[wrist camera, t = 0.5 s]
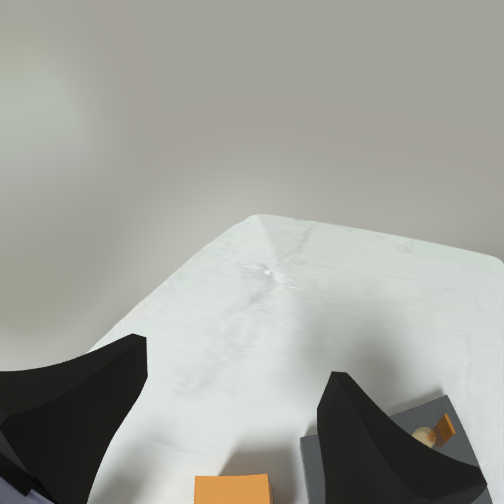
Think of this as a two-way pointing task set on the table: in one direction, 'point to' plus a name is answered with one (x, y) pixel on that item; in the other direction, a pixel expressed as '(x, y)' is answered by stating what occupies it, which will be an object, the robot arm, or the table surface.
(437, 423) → the grey flat slab
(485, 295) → the table surface
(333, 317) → the table surface
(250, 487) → the cap
